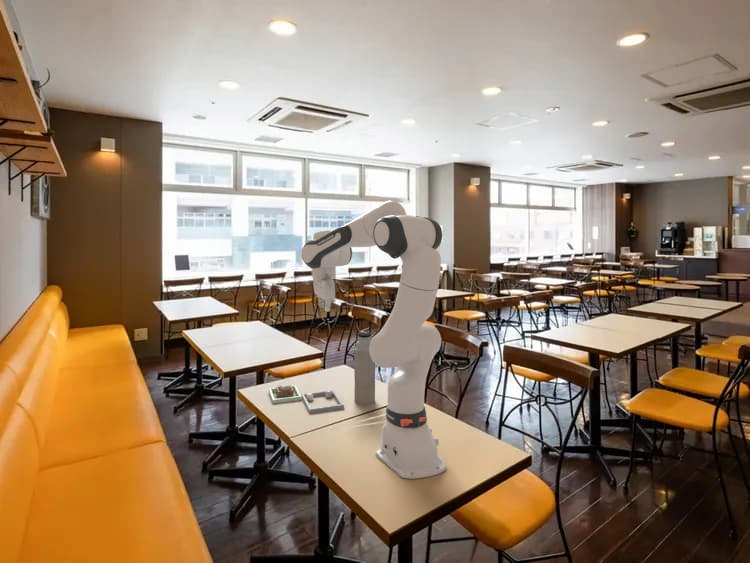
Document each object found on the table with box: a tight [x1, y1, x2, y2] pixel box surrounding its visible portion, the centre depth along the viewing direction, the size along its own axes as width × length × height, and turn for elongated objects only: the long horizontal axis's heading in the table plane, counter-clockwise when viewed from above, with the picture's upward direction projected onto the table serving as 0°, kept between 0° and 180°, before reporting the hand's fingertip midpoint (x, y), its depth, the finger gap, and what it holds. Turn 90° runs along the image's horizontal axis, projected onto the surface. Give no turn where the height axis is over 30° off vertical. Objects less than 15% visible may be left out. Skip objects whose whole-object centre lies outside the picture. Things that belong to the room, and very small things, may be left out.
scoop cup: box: [275, 384, 295, 399], centre depth 177 cm, size 6×6×4 cm
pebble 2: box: [324, 390, 333, 399], centre depth 176 cm, size 3×3×3 cm
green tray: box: [268, 385, 302, 404], centre depth 178 cm, size 13×11×2 cm
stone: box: [278, 382, 291, 391], centre depth 177 cm, size 3×3×4 cm
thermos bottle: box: [353, 332, 376, 406], centre depth 171 cm, size 8×8×28 cm
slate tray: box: [300, 389, 345, 414], centre depth 171 cm, size 16×13×2 cm
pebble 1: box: [306, 392, 314, 402], centre depth 173 cm, size 3×3×3 cm
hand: (324, 309), depth 170 cm, fingers open, 8 cm apart
